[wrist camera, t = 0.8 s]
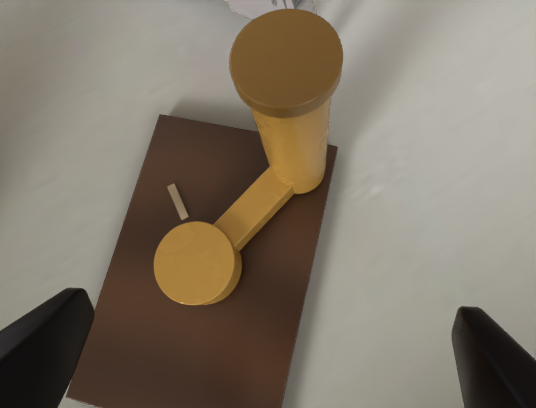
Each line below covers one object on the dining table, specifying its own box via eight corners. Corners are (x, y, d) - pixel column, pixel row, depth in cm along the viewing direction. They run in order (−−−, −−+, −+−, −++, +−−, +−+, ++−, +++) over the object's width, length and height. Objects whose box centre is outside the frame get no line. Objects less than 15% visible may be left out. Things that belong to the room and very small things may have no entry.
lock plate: (270, 457, 21) (268, 465, 20) (75, 393, 23) (63, 398, 22) (337, 152, 25) (338, 145, 24) (164, 120, 27) (158, 112, 26)
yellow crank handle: (203, 322, 22) (99, 336, 11) (153, 267, 23) (15, 235, 13) (347, 169, 23) (375, 53, 13) (293, 124, 24) (276, -17, 14)
